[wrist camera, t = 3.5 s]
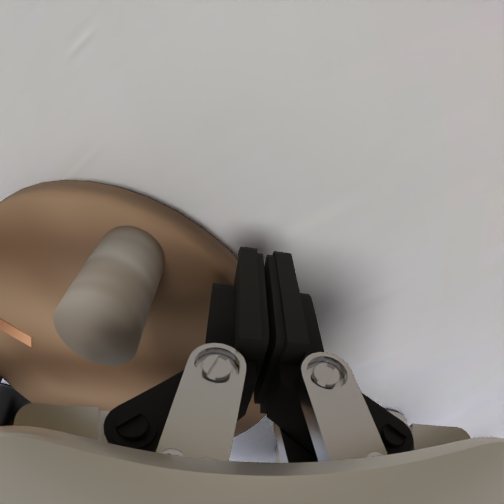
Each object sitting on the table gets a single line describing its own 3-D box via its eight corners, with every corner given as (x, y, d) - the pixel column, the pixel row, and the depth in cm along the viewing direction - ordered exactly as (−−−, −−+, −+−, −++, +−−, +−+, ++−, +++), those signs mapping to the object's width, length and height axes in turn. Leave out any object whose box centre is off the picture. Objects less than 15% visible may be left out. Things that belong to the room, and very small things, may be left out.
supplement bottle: (16, 413, 26) (-14, 496, 15) (-16, 376, 22) (-56, 467, 12) (60, 425, 25) (33, 520, 15) (28, 388, 22) (-12, 496, 12)
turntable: (294, 418, 21) (302, 492, 16) (71, 421, 23) (54, 475, 18) (234, 123, 11) (221, 175, 6) (-66, 233, 13) (-120, 288, 7)
